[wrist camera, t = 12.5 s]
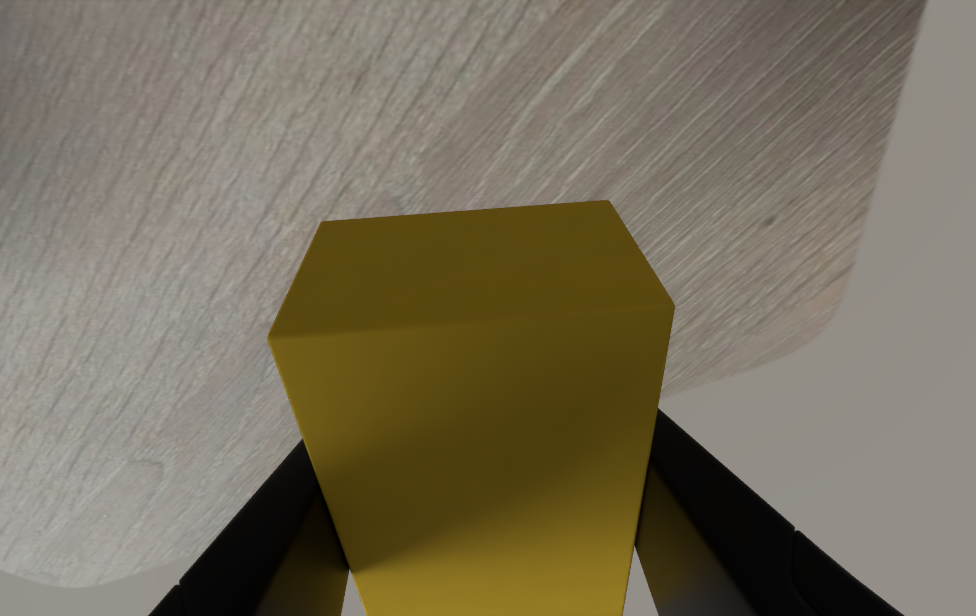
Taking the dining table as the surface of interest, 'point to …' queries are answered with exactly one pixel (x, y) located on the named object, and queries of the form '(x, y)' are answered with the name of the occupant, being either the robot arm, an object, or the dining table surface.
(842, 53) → the dining table surface
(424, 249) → the block
